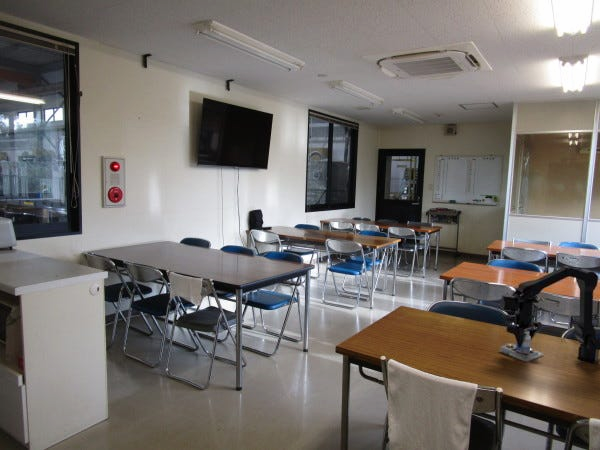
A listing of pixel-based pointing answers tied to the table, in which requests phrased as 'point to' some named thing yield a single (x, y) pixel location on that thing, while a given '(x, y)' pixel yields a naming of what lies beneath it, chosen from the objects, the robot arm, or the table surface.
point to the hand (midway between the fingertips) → (523, 345)
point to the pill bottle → (525, 344)
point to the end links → (511, 350)
